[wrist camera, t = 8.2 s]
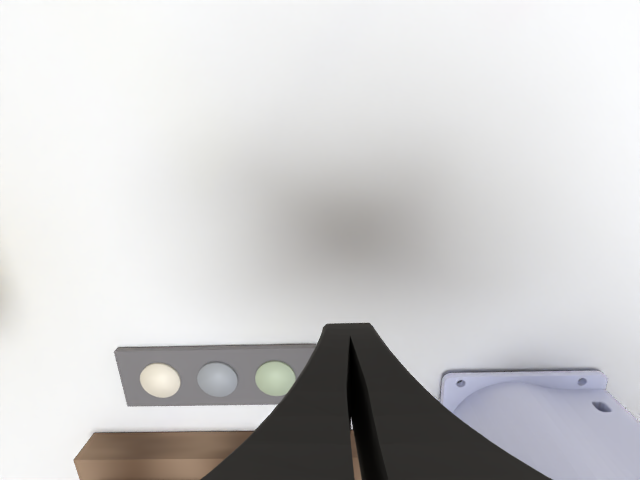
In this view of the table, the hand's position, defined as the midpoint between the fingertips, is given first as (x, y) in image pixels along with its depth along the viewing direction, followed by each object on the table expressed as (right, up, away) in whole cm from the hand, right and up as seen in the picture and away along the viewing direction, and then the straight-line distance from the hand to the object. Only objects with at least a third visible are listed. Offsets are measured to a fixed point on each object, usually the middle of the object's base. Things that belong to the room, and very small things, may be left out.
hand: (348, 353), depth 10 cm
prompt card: (-7, -5, +12) cm, 14 cm away
